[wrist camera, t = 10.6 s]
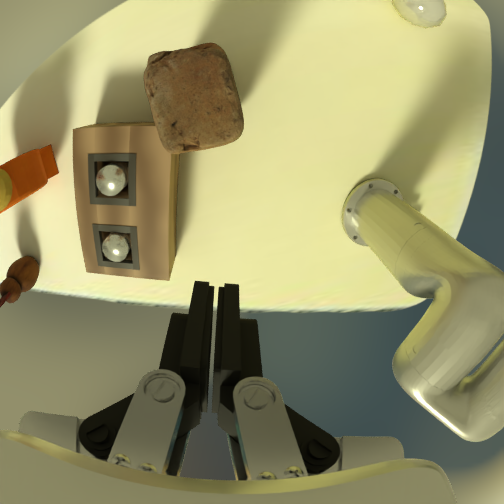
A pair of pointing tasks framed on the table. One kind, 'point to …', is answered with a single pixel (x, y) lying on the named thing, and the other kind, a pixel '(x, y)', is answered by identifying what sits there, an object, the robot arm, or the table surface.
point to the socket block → (127, 198)
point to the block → (193, 98)
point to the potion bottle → (421, 12)
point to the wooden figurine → (19, 279)
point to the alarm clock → (25, 175)
